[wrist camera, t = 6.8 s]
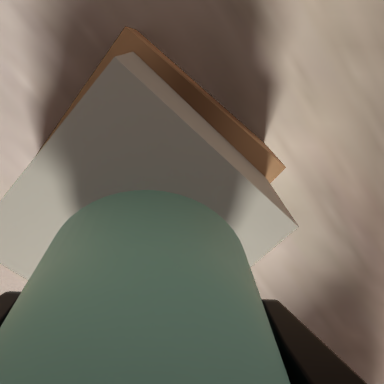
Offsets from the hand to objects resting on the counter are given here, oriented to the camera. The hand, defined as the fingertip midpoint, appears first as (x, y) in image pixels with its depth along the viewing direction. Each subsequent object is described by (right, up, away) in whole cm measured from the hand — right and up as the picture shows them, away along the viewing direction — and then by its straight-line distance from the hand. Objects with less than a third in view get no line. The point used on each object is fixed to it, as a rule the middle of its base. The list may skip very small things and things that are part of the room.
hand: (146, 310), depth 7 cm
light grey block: (-1, +3, +6) cm, 7 cm away
